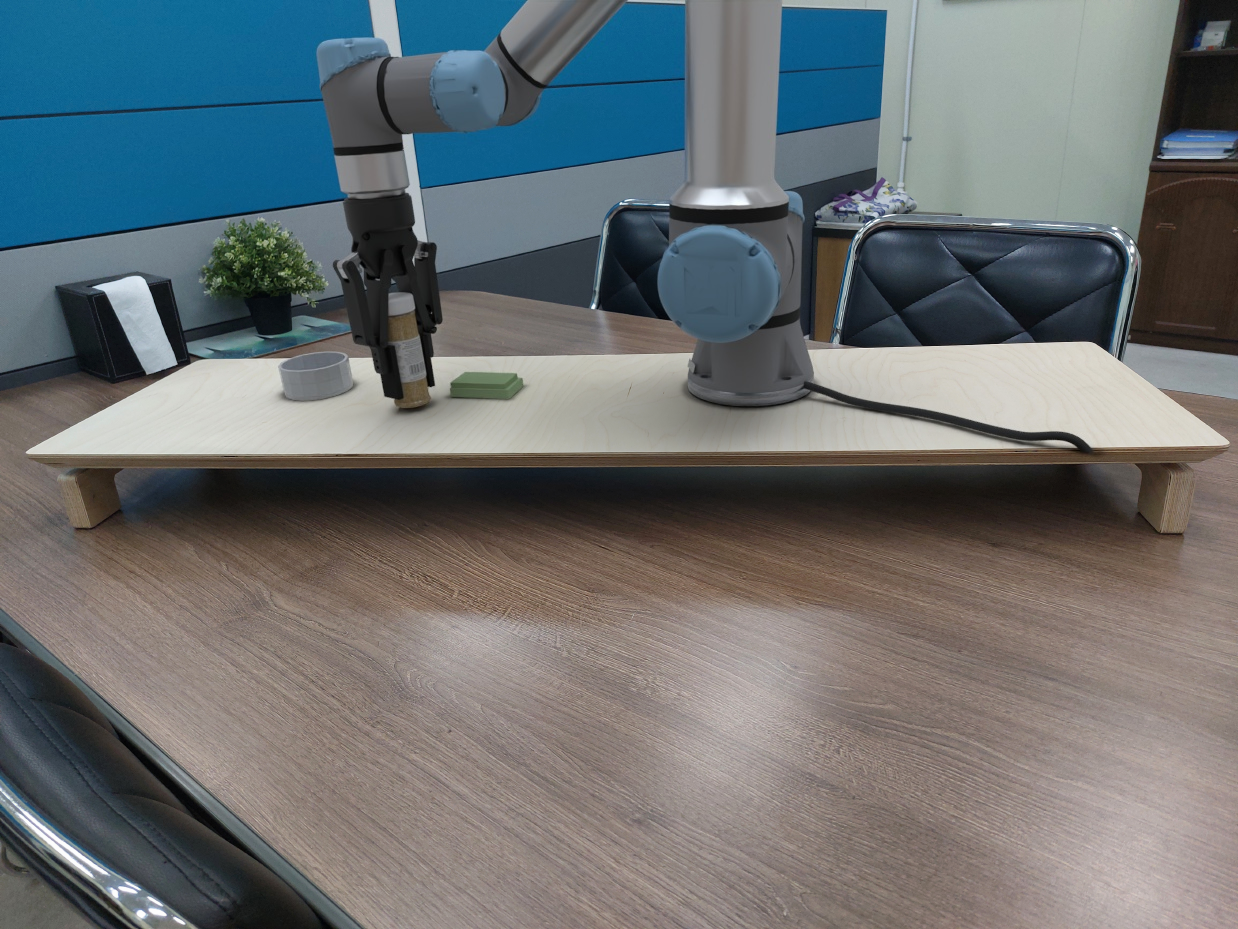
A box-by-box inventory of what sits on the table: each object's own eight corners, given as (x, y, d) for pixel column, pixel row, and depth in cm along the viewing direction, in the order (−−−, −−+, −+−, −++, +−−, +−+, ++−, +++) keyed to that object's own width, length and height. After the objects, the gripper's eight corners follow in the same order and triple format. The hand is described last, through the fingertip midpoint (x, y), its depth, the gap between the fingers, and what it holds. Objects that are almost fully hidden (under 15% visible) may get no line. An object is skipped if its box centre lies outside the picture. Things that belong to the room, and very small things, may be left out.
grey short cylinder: (365, 380, 115) (360, 352, 113) (329, 401, 107) (323, 372, 106) (310, 378, 117) (304, 350, 116) (271, 399, 110) (264, 370, 108)
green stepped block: (523, 386, 108) (522, 372, 108) (509, 399, 104) (507, 384, 103) (467, 384, 110) (465, 370, 110) (450, 397, 106) (448, 382, 105)
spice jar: (421, 394, 106) (402, 289, 101) (438, 402, 103) (419, 293, 97) (387, 404, 104) (366, 296, 98) (404, 412, 100) (383, 301, 95)
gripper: (413, 184, 102) (441, 367, 111) (288, 203, 89) (332, 408, 98) (456, 184, 97) (481, 375, 107) (331, 204, 85) (373, 418, 94)
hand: (410, 390), depth 103 cm, fingers closed on spice jar, 4 cm apart
